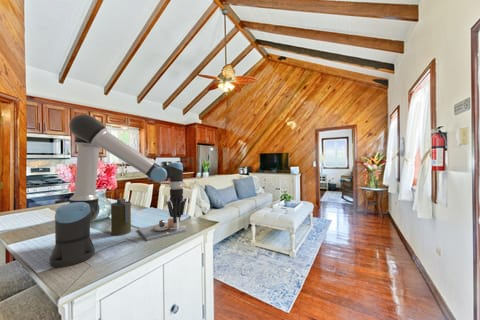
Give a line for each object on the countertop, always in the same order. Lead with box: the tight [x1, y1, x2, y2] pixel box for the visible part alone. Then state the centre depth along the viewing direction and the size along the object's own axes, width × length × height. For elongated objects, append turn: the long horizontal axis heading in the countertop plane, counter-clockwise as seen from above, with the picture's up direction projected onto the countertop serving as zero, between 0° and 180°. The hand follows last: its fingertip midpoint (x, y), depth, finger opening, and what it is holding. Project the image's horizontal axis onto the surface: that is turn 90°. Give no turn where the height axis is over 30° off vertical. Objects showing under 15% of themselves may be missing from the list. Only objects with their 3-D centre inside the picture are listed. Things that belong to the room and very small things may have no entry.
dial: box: [152, 217, 174, 232], centre depth 119 cm, size 15×10×6 cm, turn 90°
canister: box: [110, 197, 132, 237], centre depth 117 cm, size 11×10×20 cm
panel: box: [137, 224, 187, 242], centre depth 120 cm, size 24×20×2 cm
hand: (176, 228), depth 117 cm, fingers closed
